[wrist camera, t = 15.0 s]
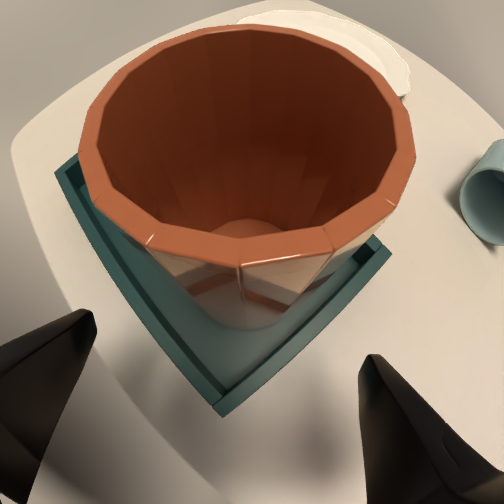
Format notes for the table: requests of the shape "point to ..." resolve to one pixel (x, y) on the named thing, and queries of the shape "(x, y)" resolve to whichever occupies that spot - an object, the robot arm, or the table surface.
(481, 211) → the cup
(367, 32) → the plate
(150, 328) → the tray
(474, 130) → the table surface
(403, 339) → the table surface
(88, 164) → the tumbler
